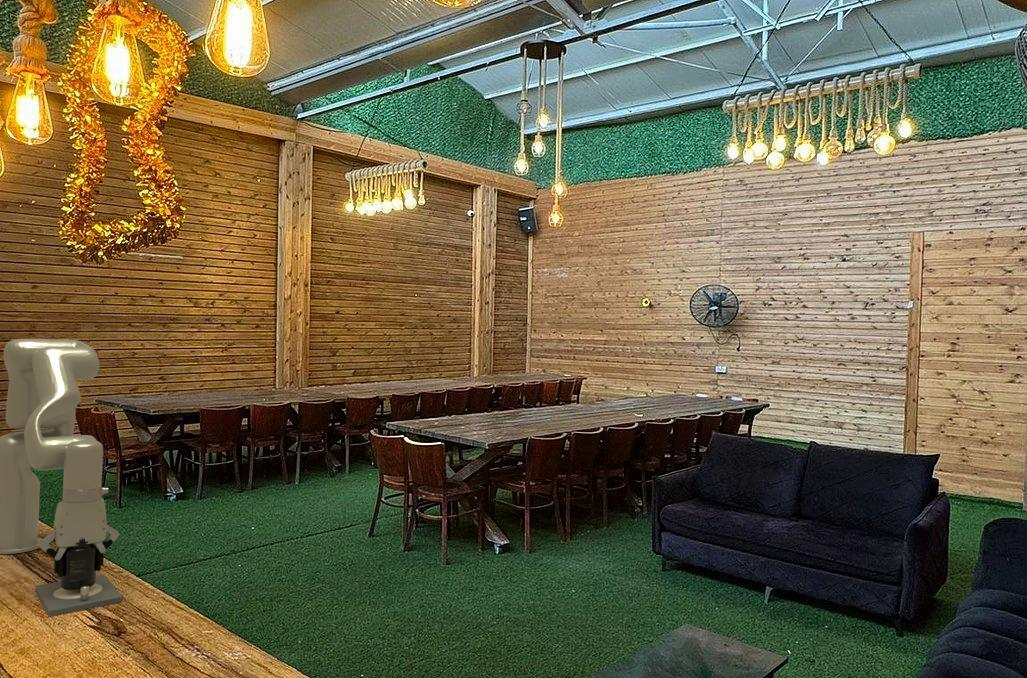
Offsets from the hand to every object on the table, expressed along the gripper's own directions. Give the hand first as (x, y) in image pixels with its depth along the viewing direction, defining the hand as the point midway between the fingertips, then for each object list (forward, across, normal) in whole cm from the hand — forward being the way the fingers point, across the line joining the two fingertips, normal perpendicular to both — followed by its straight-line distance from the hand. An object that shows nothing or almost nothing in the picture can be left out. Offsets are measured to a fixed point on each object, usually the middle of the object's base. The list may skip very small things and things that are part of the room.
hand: (78, 571), depth 161 cm
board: (+6, 0, 0) cm, 6 cm away
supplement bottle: (+3, 0, 0) cm, 3 cm away
